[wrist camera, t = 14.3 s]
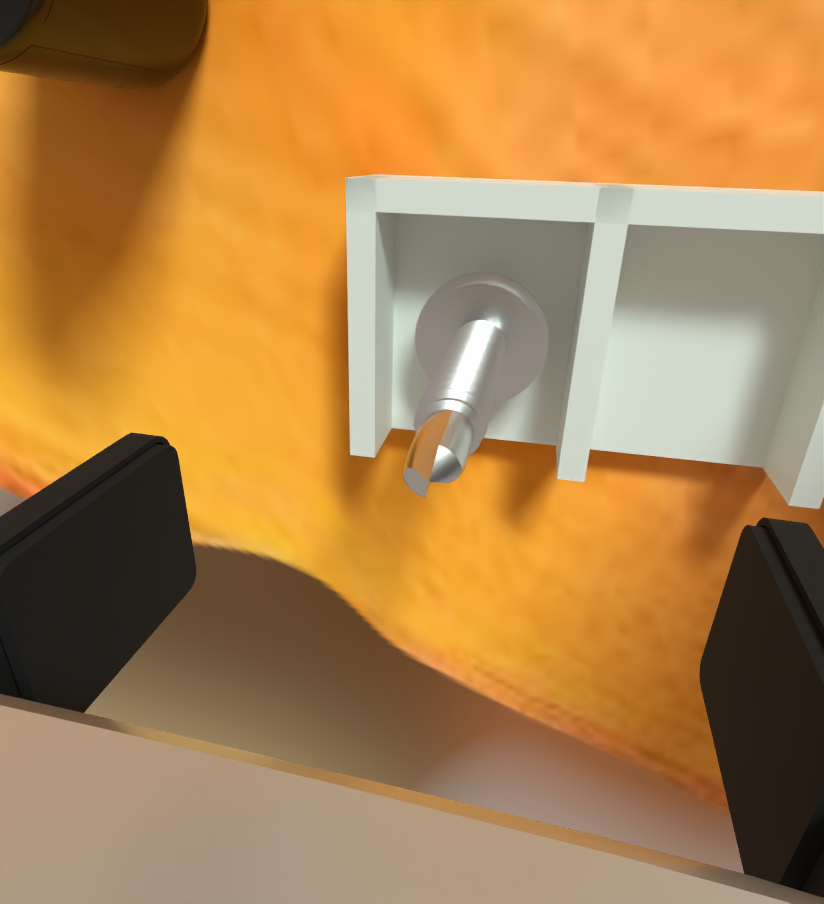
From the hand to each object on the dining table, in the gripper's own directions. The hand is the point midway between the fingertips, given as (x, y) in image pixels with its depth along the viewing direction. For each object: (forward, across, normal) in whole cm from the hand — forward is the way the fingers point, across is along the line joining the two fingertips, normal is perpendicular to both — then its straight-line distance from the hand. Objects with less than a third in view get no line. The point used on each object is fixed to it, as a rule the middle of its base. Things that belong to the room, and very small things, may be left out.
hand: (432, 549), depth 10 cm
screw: (+16, +1, 0) cm, 16 cm away
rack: (+17, -3, 0) cm, 17 cm away
